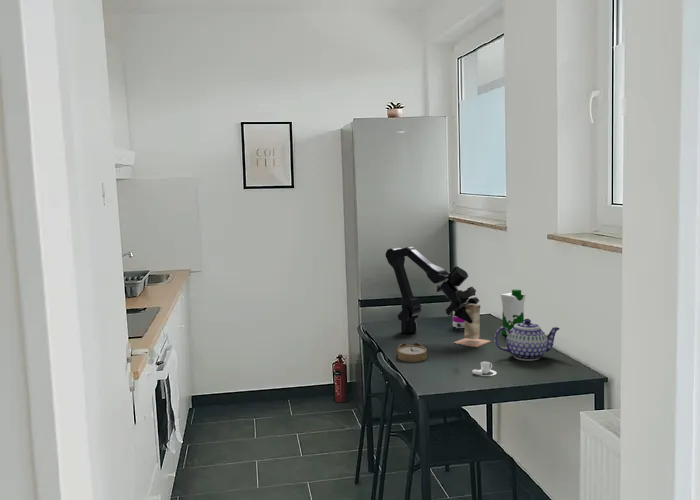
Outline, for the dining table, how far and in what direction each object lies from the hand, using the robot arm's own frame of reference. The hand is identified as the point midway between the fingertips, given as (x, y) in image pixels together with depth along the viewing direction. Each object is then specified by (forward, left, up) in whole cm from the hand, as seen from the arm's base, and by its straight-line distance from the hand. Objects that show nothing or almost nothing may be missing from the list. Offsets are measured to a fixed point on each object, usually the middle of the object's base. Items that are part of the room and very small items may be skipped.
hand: (474, 321), depth 277 cm
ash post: (-1, +1, -7) cm, 7 cm away
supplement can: (-5, +31, -9) cm, 33 cm away
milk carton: (+17, +17, -9) cm, 26 cm away
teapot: (+19, -21, -9) cm, 30 cm away
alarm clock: (-25, -23, -10) cm, 35 cm away
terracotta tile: (-1, +1, -9) cm, 9 cm away
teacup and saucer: (0, -42, -10) cm, 43 cm away
